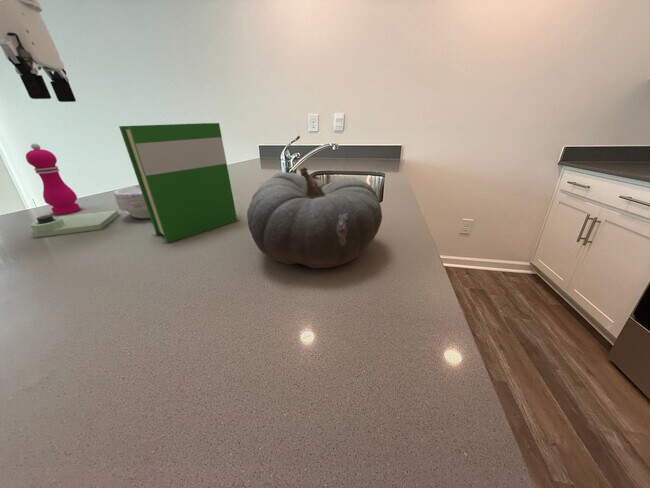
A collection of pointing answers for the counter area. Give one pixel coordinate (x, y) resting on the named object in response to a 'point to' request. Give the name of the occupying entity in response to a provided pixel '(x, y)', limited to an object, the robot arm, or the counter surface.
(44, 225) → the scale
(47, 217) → the button
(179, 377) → the counter surface
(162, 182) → the hardback book
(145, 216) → the paper bowls
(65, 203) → the pepper mill
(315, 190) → the gourd
